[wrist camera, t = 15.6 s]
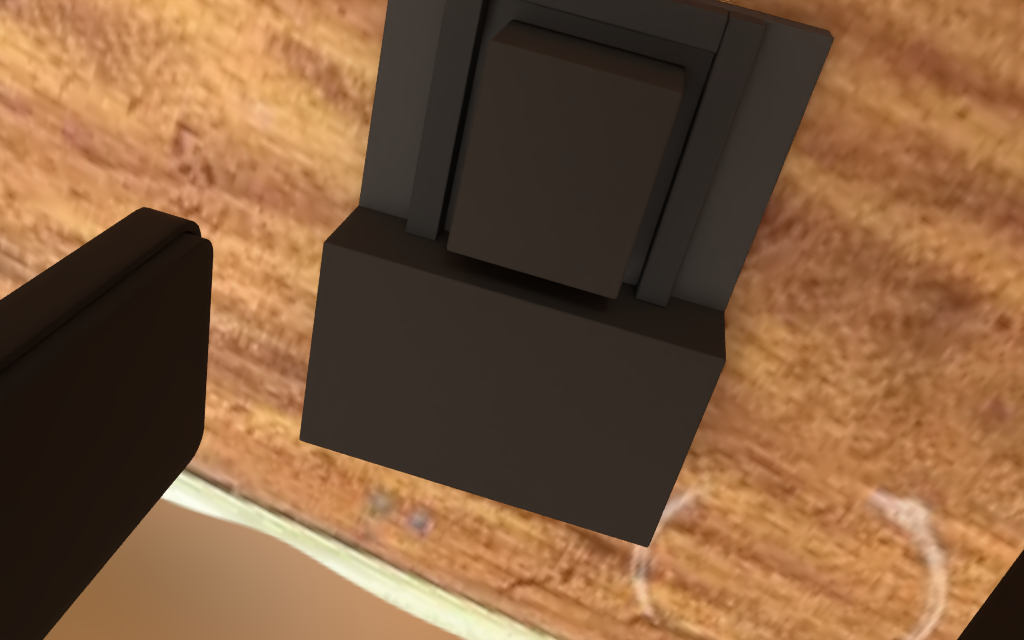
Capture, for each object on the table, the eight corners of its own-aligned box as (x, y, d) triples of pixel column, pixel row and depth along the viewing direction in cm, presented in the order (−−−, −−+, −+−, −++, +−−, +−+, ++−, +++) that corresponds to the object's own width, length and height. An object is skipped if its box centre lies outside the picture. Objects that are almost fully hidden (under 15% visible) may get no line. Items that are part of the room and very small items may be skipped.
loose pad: (512, 18, 25) (488, 39, 22) (686, 66, 24) (683, 93, 22) (469, 212, 28) (445, 251, 25) (625, 257, 27) (616, 301, 25)
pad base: (409, -83, 25) (361, -70, 21) (830, 30, 24) (850, 63, 21) (341, 377, 33) (298, 440, 29) (654, 472, 32) (648, 548, 29)
